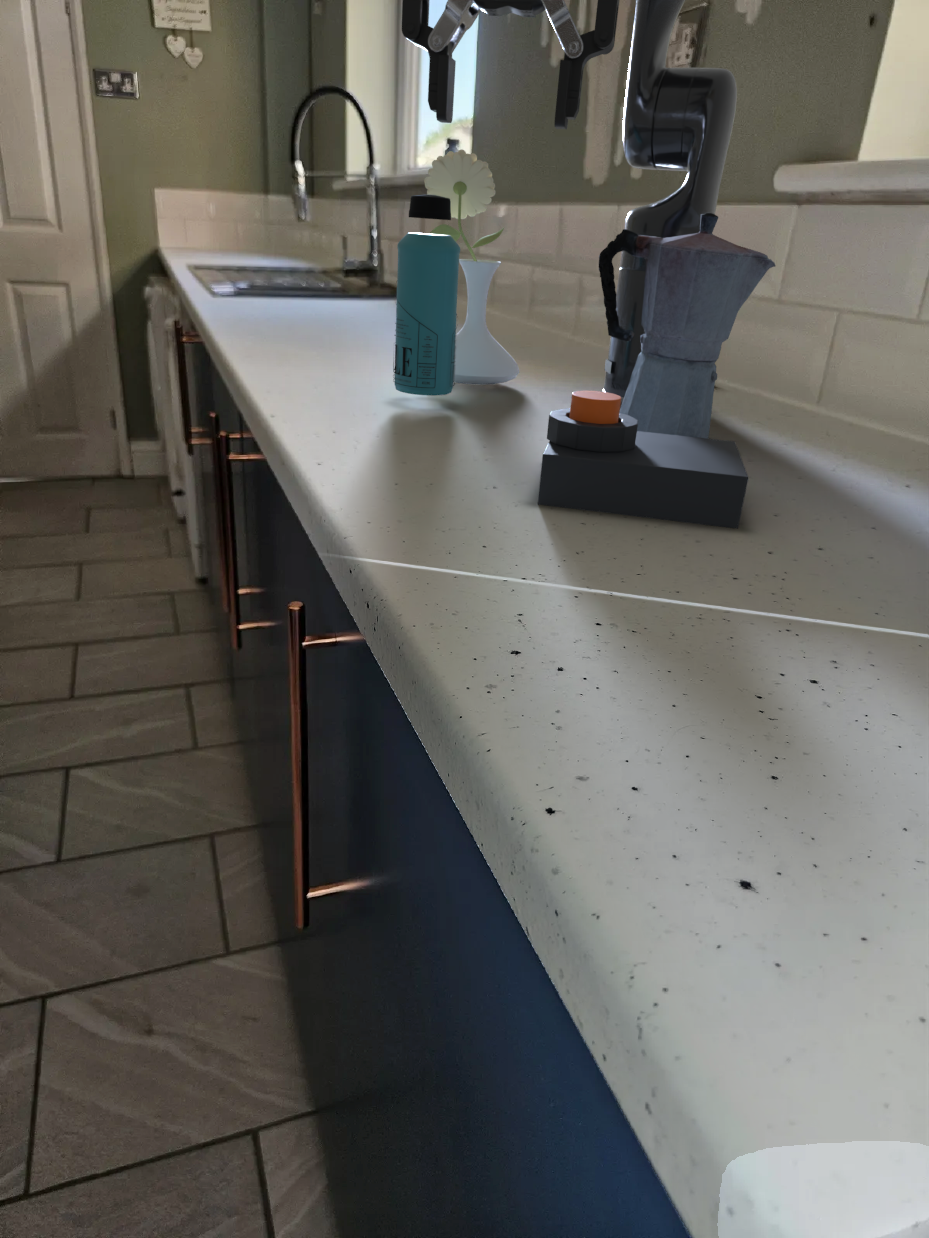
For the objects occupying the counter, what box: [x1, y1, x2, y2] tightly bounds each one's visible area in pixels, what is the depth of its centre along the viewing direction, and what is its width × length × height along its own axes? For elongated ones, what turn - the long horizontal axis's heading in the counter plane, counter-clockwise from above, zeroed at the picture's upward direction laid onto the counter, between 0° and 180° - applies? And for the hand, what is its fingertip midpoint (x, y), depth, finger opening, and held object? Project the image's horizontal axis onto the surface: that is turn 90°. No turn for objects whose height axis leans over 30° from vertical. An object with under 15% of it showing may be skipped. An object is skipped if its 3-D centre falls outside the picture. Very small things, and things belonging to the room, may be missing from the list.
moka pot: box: [598, 213, 776, 439], centre depth 80 cm, size 10×15×20 cm, turn 78°
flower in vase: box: [423, 149, 520, 386], centre depth 101 cm, size 13×11×25 cm
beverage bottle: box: [392, 194, 461, 397], centre depth 88 cm, size 6×7×20 cm
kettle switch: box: [569, 390, 621, 424], centre depth 64 cm, size 4×4×2 cm
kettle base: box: [537, 407, 749, 529], centre depth 65 cm, size 14×11×6 cm
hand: (501, 124), depth 59 cm, fingers open, 7 cm apart
